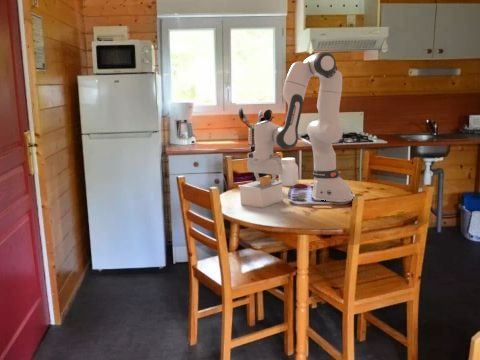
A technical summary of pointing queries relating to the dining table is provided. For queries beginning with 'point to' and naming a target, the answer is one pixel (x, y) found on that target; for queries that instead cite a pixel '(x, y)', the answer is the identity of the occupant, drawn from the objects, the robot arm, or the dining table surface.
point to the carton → (261, 195)
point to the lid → (263, 183)
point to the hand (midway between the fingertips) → (265, 182)
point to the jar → (289, 172)
